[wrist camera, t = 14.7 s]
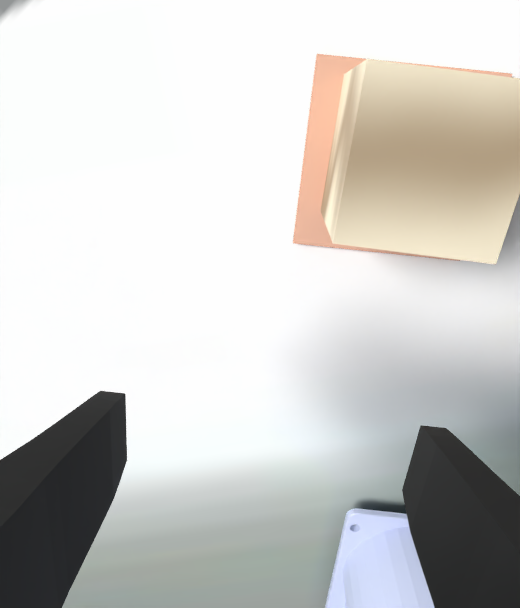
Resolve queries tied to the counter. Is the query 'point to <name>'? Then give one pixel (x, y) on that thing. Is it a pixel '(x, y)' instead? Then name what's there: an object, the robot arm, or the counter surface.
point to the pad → (328, 149)
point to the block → (424, 161)
